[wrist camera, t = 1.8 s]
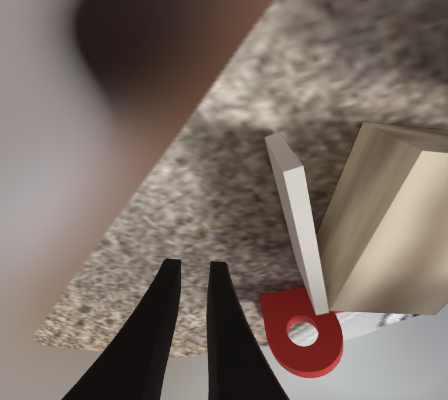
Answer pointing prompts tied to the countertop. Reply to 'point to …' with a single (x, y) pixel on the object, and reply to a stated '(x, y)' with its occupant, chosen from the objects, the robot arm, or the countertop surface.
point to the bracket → (291, 353)
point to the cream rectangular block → (389, 224)
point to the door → (298, 217)
